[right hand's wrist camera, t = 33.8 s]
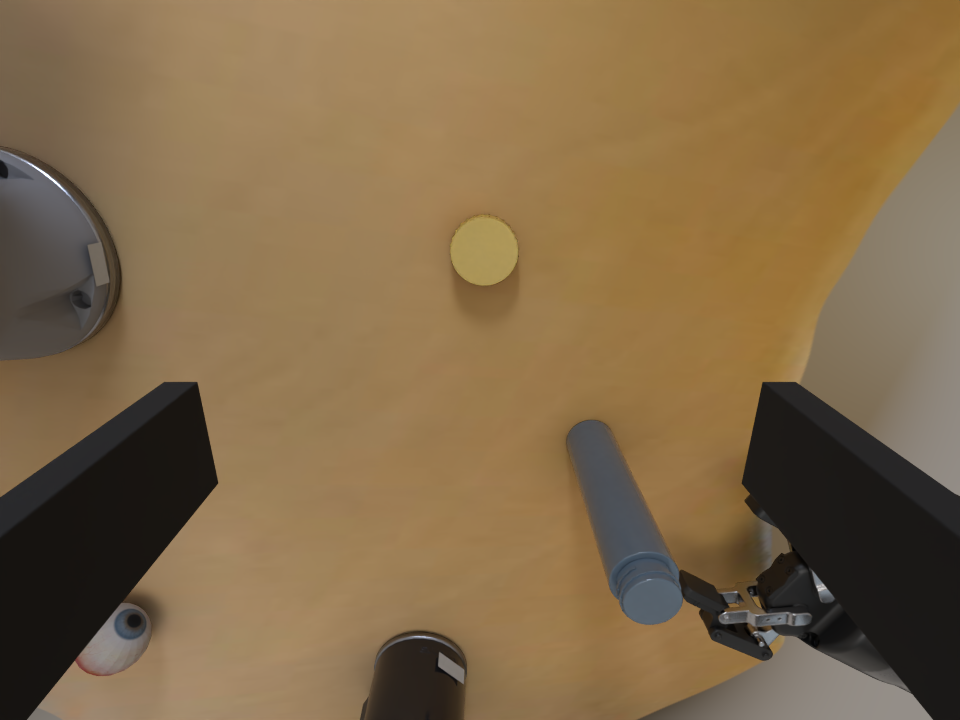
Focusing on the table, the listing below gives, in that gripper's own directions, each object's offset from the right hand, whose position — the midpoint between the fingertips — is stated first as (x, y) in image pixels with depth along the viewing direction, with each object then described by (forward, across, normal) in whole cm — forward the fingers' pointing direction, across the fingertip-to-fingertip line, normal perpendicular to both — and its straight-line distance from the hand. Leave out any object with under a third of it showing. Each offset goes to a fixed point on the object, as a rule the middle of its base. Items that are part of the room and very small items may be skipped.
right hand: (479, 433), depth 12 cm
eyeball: (+29, -34, -35) cm, 57 cm away
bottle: (+29, +9, -16) cm, 34 cm away
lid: (+27, 0, 0) cm, 27 cm away
